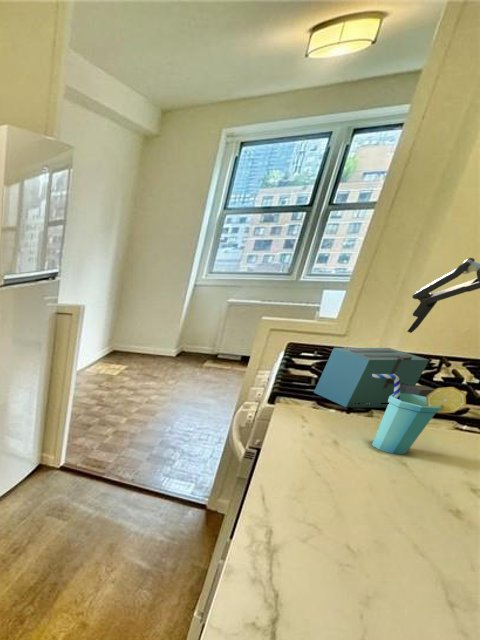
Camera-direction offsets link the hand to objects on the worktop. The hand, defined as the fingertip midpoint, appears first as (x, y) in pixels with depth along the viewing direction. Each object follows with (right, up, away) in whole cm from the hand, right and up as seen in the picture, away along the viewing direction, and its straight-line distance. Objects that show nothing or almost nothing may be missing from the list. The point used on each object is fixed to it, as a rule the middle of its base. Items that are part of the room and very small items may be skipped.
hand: (452, 342), depth 101 cm
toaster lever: (0, -9, +9) cm, 13 cm away
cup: (-17, -22, -2) cm, 28 cm away
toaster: (0, -10, +21) cm, 23 cm away
